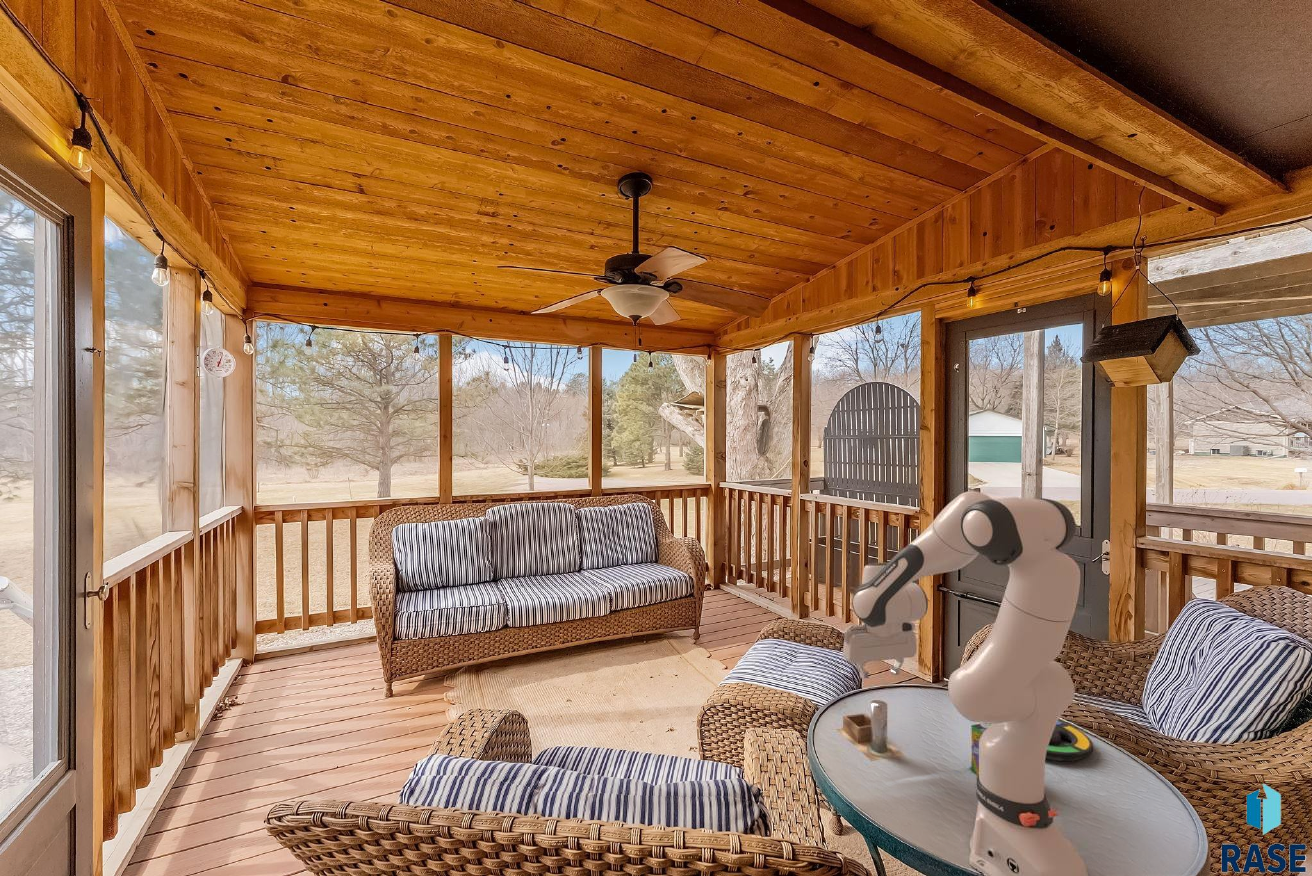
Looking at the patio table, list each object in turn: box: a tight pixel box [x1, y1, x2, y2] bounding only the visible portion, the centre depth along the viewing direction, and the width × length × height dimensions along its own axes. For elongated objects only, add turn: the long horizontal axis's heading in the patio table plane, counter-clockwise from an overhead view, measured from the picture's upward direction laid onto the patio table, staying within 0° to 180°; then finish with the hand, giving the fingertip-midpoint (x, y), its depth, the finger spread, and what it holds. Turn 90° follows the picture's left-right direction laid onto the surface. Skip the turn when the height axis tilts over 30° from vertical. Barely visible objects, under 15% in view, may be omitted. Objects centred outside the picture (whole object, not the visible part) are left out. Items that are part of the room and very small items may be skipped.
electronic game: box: [1045, 720, 1094, 762], centre depth 155 cm, size 23×23×5 cm
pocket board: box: [836, 713, 905, 762], centre depth 153 cm, size 16×10×5 cm, turn 14°
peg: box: [870, 699, 888, 753], centre depth 149 cm, size 4×4×12 cm
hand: (879, 675), depth 149 cm, fingers open, 8 cm apart
